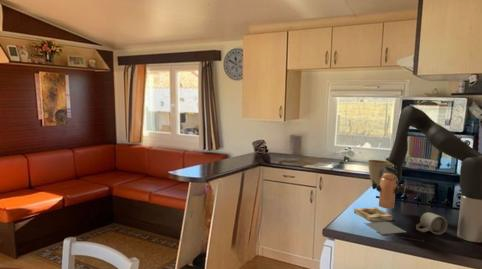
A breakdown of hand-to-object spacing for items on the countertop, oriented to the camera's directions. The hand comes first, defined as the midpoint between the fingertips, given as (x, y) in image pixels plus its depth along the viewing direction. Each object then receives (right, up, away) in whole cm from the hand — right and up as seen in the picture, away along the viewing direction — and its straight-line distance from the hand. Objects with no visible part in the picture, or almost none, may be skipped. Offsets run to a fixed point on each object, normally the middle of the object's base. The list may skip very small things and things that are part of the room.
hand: (387, 190), depth 140 cm
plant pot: (+30, -10, +81) cm, 87 cm away
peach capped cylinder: (+1, -7, +3) cm, 8 cm away
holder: (+1, -16, +18) cm, 24 cm away
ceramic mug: (+19, -18, +3) cm, 26 cm away
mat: (0, -17, +4) cm, 17 cm away
